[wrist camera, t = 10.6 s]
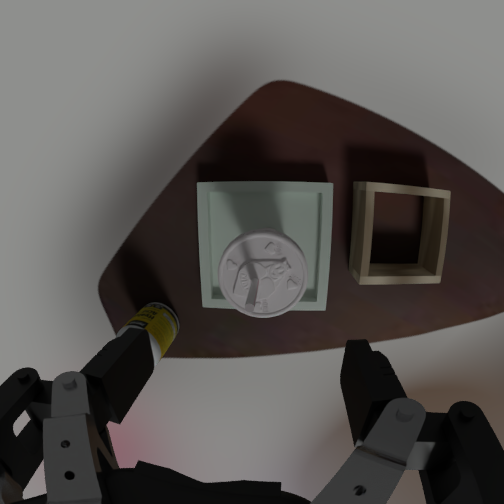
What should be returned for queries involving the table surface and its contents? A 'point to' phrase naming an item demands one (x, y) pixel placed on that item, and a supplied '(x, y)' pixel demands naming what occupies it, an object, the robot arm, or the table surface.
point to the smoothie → (263, 273)
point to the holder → (430, 242)
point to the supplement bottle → (155, 327)
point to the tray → (265, 216)
